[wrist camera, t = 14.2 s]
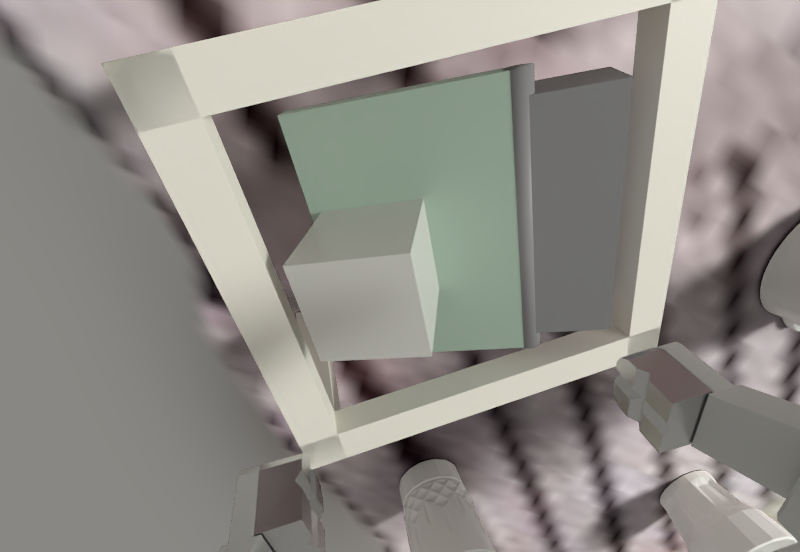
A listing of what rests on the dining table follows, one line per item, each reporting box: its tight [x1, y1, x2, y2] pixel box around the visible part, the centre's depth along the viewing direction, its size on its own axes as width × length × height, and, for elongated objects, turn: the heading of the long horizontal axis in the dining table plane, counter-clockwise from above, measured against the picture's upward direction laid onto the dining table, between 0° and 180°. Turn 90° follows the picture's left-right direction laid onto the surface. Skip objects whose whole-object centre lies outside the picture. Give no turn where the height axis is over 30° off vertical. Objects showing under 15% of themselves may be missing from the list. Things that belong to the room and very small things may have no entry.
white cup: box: [399, 459, 496, 552], centre depth 42 cm, size 8×8×10 cm
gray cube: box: [283, 199, 439, 361], centre depth 18 cm, size 5×5×5 cm
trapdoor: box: [277, 63, 634, 352], centre depth 21 cm, size 14×14×3 cm
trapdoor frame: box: [101, 0, 718, 470], centre depth 23 cm, size 21×20×13 cm
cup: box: [660, 470, 797, 552], centre depth 57 cm, size 12×12×11 cm
